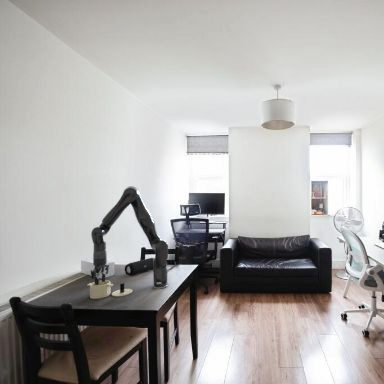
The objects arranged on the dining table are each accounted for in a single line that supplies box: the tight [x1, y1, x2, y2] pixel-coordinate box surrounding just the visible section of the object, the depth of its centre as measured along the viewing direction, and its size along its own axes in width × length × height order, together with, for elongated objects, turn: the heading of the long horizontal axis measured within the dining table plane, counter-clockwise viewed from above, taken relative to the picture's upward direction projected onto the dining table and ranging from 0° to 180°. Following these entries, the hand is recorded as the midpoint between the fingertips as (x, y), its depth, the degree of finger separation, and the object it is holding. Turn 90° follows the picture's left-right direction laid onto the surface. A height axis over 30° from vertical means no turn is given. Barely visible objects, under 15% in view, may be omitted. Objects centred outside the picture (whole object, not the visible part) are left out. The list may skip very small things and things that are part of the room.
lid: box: [111, 281, 133, 297], centre depth 175 cm, size 12×12×7 cm
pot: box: [87, 279, 114, 300], centre depth 172 cm, size 11×17×8 cm
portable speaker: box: [124, 257, 155, 276], centre depth 224 cm, size 26×10×10 cm, turn 148°
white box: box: [80, 257, 115, 280], centre depth 221 cm, size 32×11×11 cm, turn 58°
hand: (100, 283), depth 172 cm, fingers open, 5 cm apart
